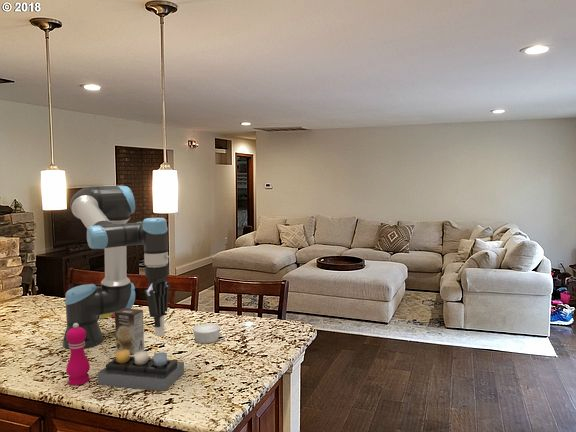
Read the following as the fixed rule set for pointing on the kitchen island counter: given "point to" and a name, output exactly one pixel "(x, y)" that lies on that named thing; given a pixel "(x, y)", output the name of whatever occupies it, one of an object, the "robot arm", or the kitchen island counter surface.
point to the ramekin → (206, 333)
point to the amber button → (122, 356)
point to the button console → (141, 374)
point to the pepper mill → (77, 356)
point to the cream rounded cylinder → (141, 358)
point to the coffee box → (129, 330)
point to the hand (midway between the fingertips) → (159, 335)
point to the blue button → (160, 359)
